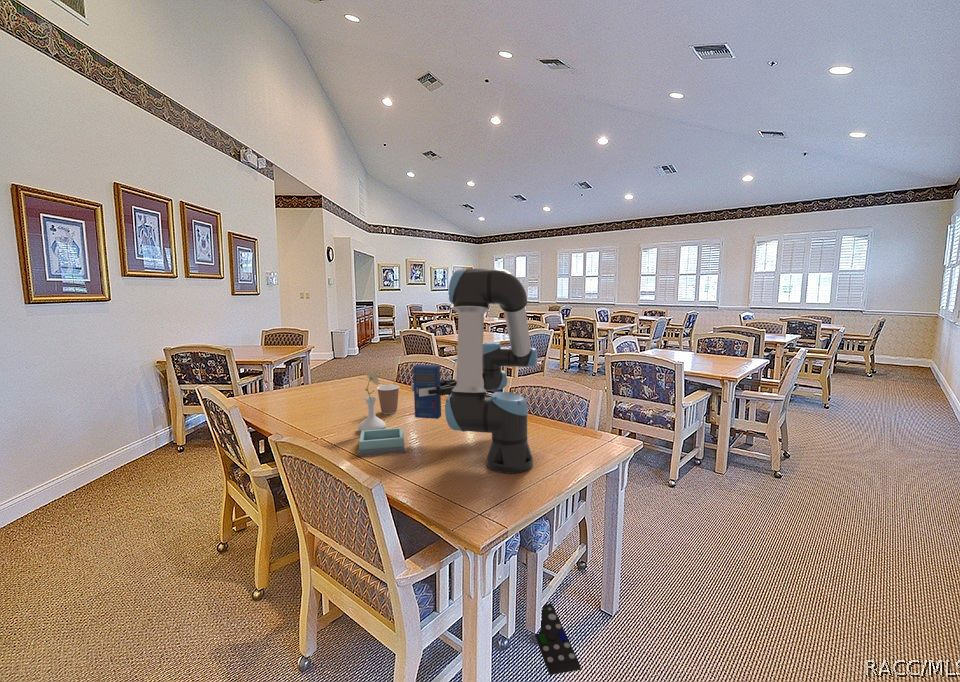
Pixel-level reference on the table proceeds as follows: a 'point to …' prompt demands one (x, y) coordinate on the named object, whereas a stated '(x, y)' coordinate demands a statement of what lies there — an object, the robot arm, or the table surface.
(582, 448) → the table surface
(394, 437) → the charging dock
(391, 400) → the coffee cup
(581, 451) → the table surface
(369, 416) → the flower in vase
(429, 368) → the electronic device
